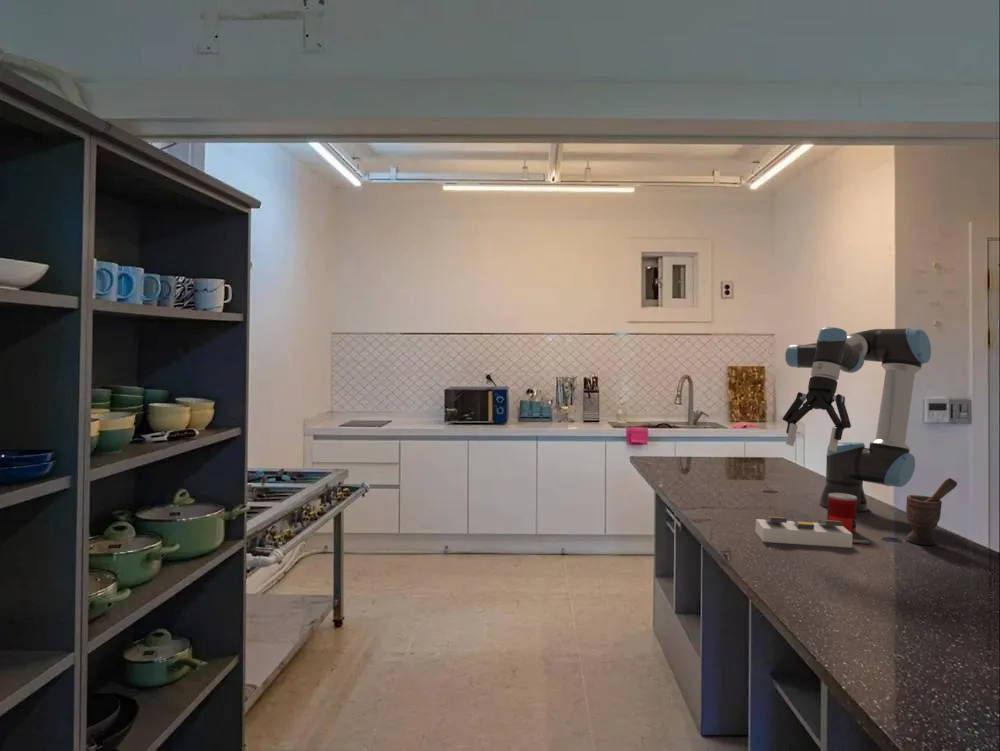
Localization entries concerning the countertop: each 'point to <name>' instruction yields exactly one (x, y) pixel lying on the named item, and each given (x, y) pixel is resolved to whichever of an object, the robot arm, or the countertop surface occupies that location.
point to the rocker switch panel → (805, 534)
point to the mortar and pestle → (926, 513)
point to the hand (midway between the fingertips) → (810, 448)
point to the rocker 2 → (830, 522)
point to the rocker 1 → (776, 519)
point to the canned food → (843, 509)
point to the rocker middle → (802, 521)
